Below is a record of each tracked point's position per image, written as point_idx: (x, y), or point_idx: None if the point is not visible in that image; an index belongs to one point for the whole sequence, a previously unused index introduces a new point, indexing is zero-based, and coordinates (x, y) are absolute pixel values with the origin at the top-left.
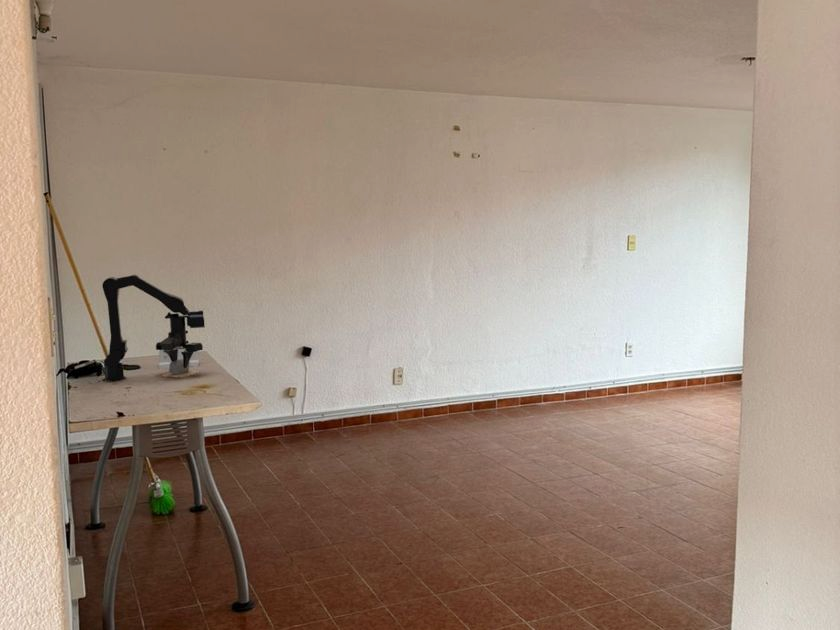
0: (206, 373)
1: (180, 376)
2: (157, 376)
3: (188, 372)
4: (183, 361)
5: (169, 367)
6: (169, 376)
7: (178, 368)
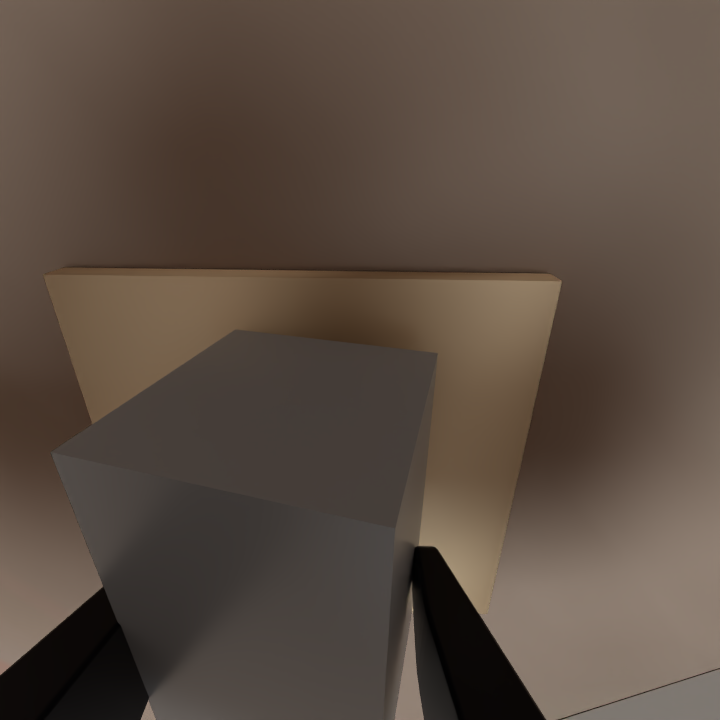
0: (43, 578)
1: (109, 272)
2: (652, 244)
3: None
4: (53, 691)
5: (699, 689)
6: (380, 272)
7: (143, 410)
